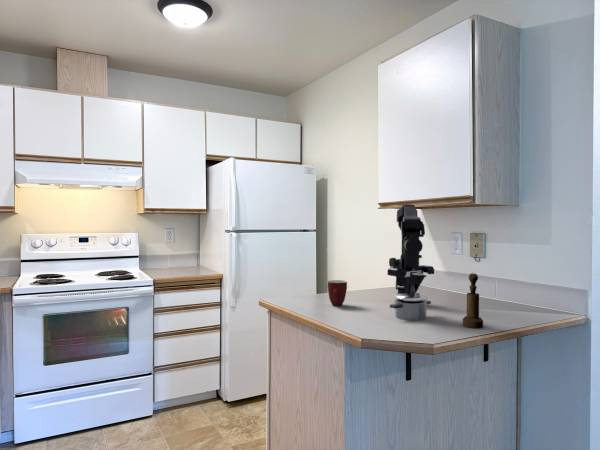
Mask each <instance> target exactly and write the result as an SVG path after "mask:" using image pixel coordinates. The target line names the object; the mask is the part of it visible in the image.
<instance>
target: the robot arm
mask: <svg viewBox="0 0 600 450" xmlns="http://www.w3.org/2000/svg"><path fill="white" fill-rule="evenodd" d="M396 223H397V226H398V228H399V230H400V231H401V254H400V257H399V258H398V259H397V258H396V257H391V258H389V260H388V265H389V268H388V269H387V276H392V277H395V290H397V293H396V294H401V293H406V294H407V295H409V293H410V289H411V284H414V285H415V294H416V293H418V290H419V288H420V286H421V284H422V283H423V281H424V280H425V278H426V277H427V275H426V274H428V275H435V268H434V266H431V265H425V264H424V265H423V264H421V265H420V259H422V258H423V255H422V254H420V252H421V251H422V250H423V242H422V241H421V239H420V238H424V237H425V235H426V229H425V224H424V221H422V220H421V217H420V216H419V215H418V210H417V208H416V206H415V204H411V203H410V204H405V203H404V204H402V205H401V207H400V208H399V209H397V210H396Z"/></svg>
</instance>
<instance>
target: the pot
mask: <svg viewBox="0 0 600 450" xmlns="http://www.w3.org/2000/svg"><path fill="white" fill-rule="evenodd" d="M431 304H432V302H431V300H428V299H427V300H425V301H404V300H399V299H395V301H394V303H391V304H389V308H391V309H395V312H394V313H395V314H394V316H395V318H396V319H399V320H405V321H410V322H411V321H417V322H418V321H424V320H426V319H427V305H431Z"/></svg>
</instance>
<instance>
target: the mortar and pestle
mask: <svg viewBox="0 0 600 450" xmlns="http://www.w3.org/2000/svg"><path fill="white" fill-rule="evenodd" d="M478 279H479V276H478V274H476V273H475V272H474V273H473V272H471V273H470V274H469V275H468V280H469V282H470V285H469V291H470V292H466V315H465V316H464V317H463V318H462V326H463V327H465V328H470V329H482V328H484V320H483V319H482V317H480V293H477V292H476V291H477V287H478V286H477V285H476V284H477V281H478Z"/></svg>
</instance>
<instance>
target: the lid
mask: <svg viewBox="0 0 600 450" xmlns="http://www.w3.org/2000/svg"><path fill="white" fill-rule="evenodd" d="M394 298H395V300H397V299H399V300H404V301H425V300H428V296H427V295H424V294H421V293H419V292H416V294H415V285H414V284H411V289H410V293H409V295H407V294H406V293H401V294H397V293H396V294H395V295H394Z"/></svg>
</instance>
